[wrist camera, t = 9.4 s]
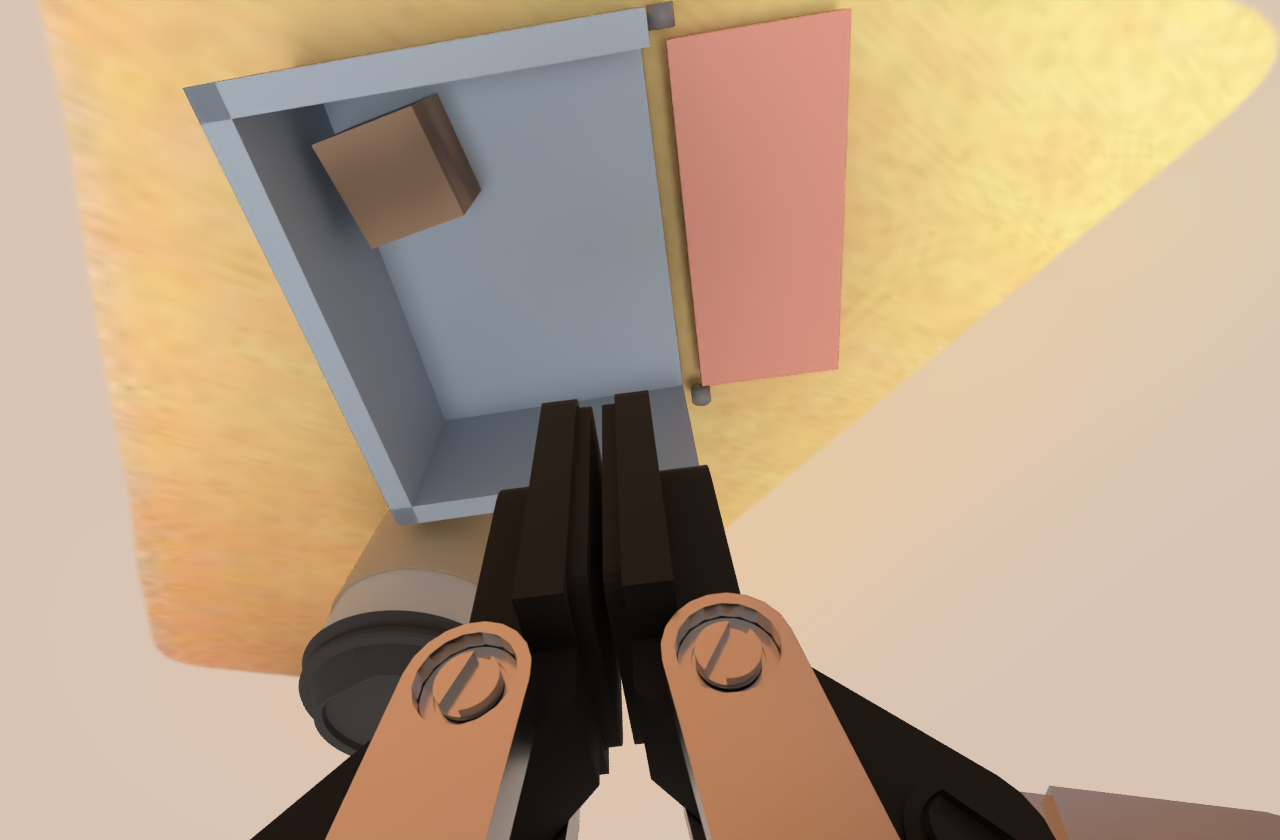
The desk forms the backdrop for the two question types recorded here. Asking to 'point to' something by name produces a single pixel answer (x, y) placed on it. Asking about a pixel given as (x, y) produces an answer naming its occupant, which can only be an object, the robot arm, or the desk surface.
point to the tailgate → (764, 191)
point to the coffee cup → (389, 620)
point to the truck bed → (473, 251)
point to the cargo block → (400, 171)
